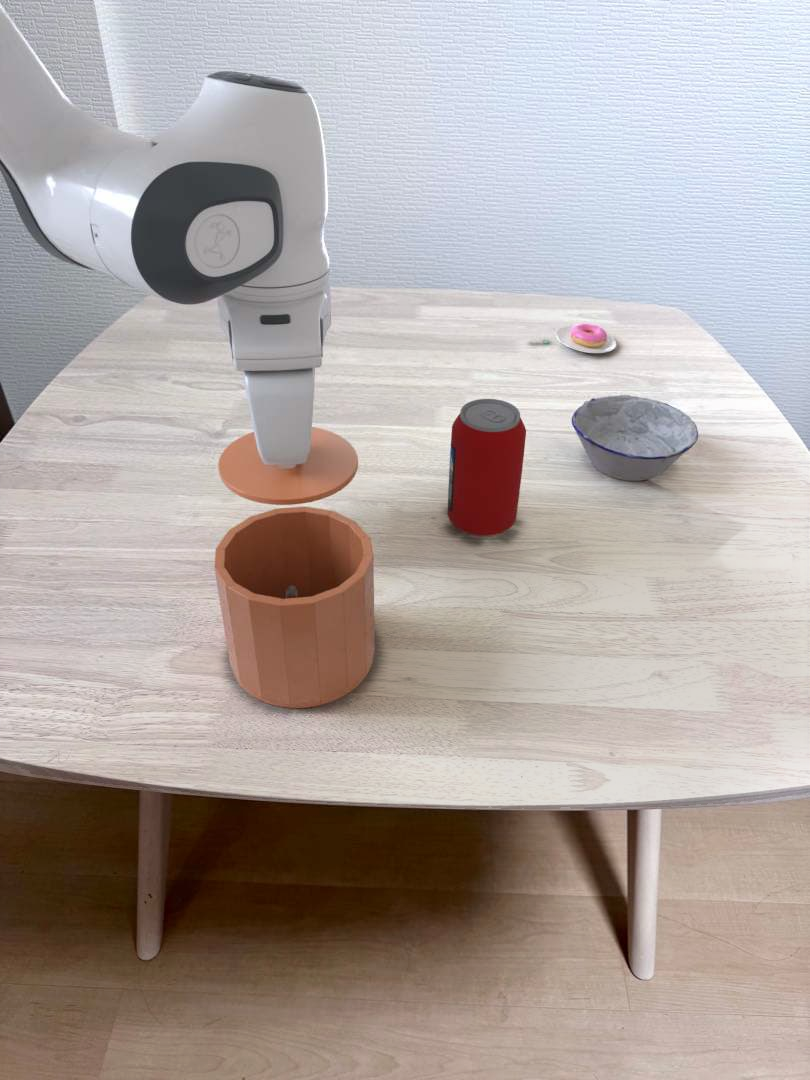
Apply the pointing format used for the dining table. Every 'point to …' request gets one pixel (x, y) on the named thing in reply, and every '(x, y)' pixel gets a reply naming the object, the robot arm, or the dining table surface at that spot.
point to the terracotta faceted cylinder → (297, 605)
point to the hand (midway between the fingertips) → (285, 453)
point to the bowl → (633, 435)
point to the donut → (586, 338)
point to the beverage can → (485, 467)
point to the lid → (289, 471)
